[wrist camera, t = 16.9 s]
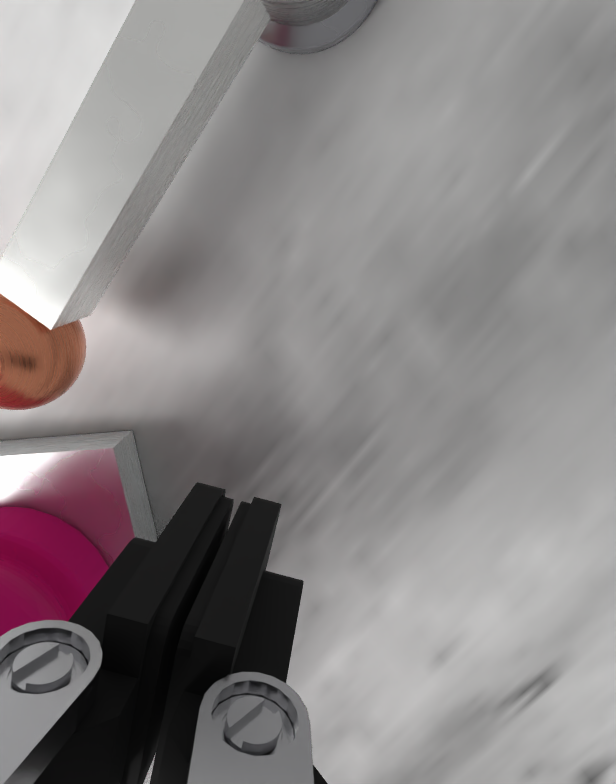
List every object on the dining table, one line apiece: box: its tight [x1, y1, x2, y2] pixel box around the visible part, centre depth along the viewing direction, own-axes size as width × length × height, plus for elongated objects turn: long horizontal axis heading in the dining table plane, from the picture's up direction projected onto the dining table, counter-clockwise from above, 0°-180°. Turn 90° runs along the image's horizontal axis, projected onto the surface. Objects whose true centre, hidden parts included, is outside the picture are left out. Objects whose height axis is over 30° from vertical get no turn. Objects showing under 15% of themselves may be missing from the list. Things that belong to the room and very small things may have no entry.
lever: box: [0, 0, 349, 410], centre depth 13 cm, size 16×4×4 cm, turn 143°
